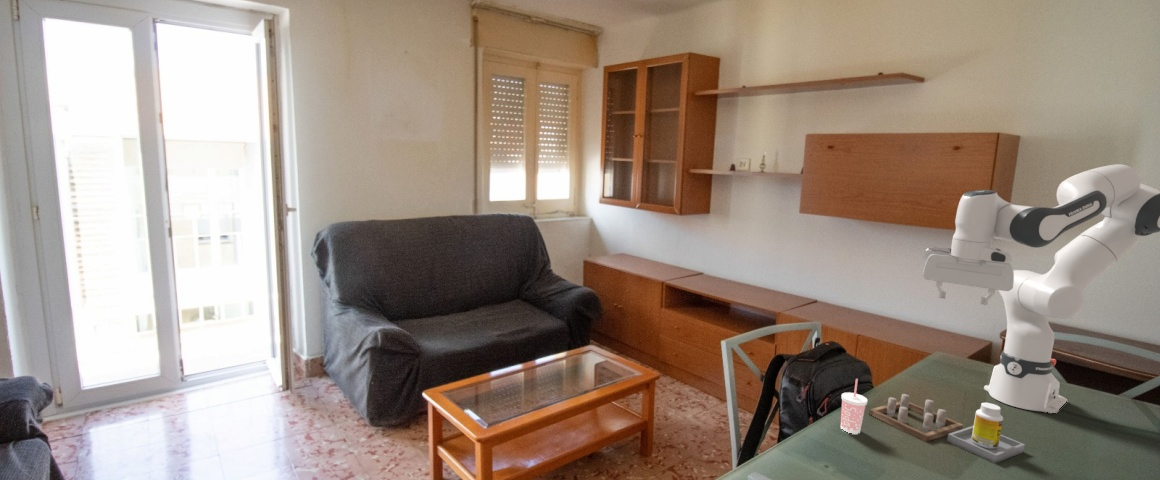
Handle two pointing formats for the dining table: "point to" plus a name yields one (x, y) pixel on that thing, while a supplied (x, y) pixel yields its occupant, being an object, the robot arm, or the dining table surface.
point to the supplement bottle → (987, 426)
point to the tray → (998, 454)
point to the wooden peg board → (926, 412)
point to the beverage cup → (852, 411)
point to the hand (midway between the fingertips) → (962, 301)
